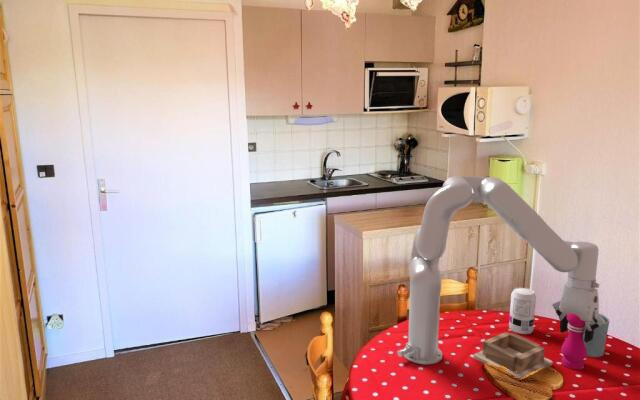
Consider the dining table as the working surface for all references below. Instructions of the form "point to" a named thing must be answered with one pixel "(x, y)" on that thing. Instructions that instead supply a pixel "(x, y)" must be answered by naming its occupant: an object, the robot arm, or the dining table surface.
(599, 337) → the grey cylindrical pot
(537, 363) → the stand
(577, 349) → the pepper mill
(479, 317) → the dining table surface
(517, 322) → the supplement can
